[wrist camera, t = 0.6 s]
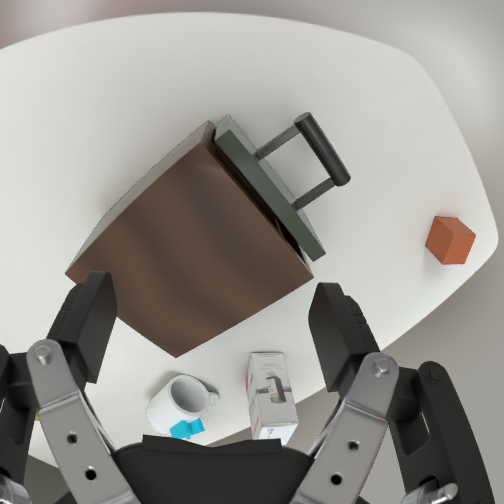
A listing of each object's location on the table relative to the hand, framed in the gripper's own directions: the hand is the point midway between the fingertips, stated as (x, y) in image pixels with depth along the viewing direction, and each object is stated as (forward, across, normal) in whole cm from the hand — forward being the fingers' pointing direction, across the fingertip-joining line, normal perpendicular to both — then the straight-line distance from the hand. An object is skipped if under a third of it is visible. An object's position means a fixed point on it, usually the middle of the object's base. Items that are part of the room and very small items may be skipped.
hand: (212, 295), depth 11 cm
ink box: (+18, -8, +30) cm, 36 cm away
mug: (+18, +4, +39) cm, 43 cm away
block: (+18, -28, +5) cm, 33 cm away
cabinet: (+18, +2, +6) cm, 19 cm away
